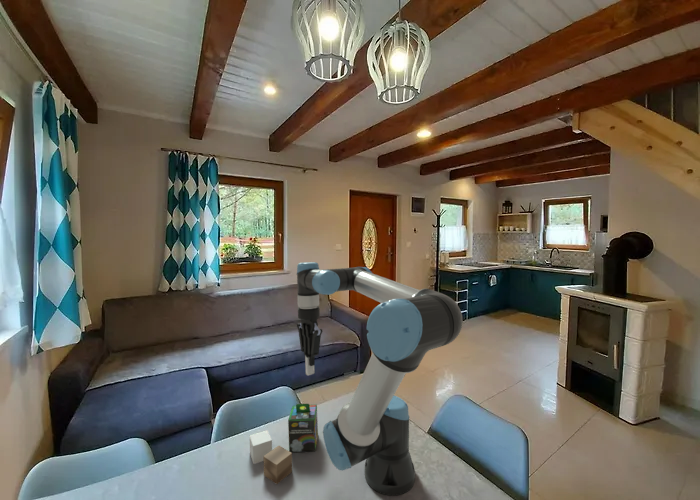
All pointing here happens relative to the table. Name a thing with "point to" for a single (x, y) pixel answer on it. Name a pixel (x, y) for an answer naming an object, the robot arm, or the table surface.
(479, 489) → the table surface
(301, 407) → the chalk box
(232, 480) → the table surface
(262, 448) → the white cube
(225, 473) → the table surface
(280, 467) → the walnut block
